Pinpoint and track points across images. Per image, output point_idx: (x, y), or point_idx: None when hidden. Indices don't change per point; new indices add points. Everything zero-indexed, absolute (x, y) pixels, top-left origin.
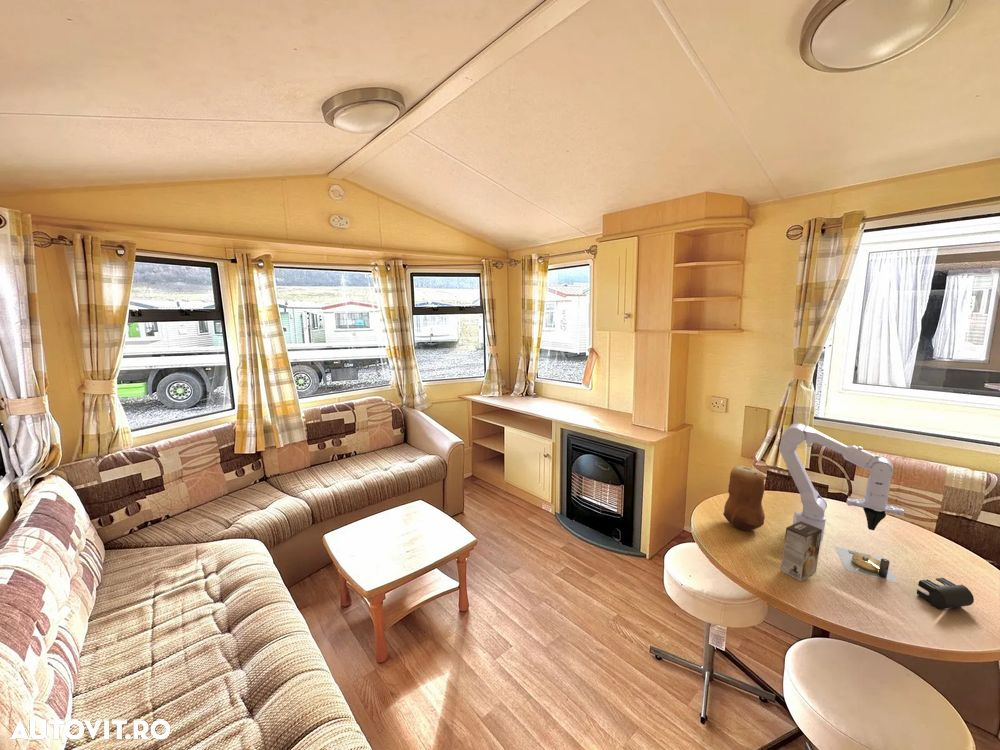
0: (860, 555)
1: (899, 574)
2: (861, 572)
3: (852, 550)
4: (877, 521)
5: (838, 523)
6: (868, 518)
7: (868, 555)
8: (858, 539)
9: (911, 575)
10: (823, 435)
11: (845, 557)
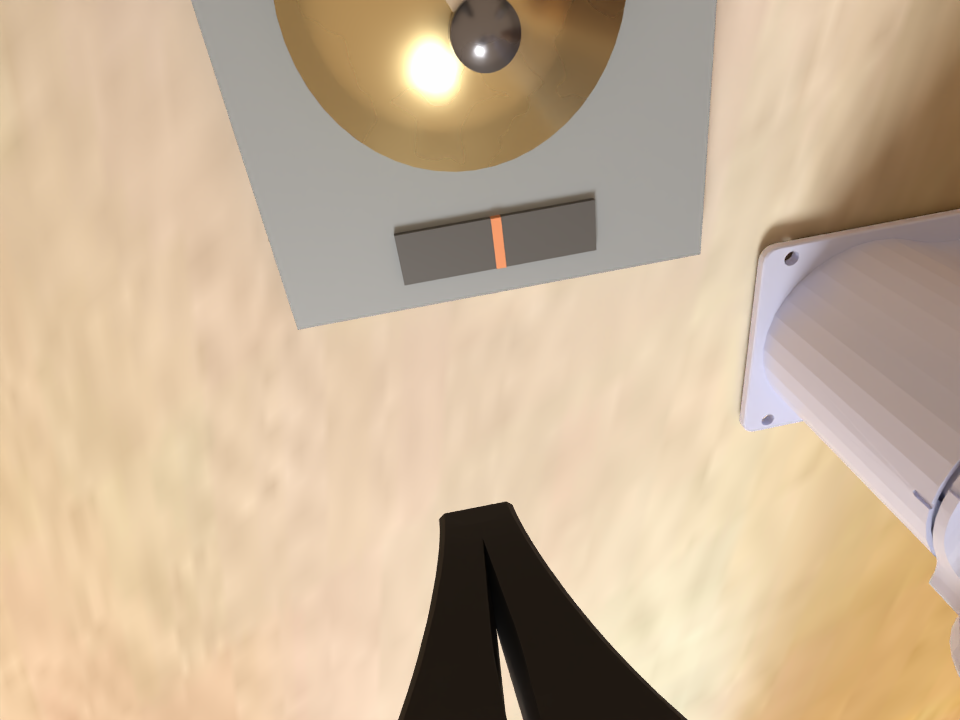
0: (525, 111)
1: (129, 86)
2: None
3: (554, 279)
4: (446, 695)
5: None
6: (642, 683)
7: (423, 263)
8: None
9: (26, 157)
10: None
11: (654, 42)
